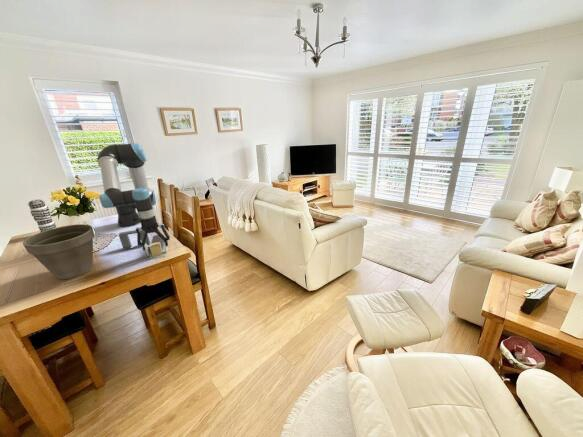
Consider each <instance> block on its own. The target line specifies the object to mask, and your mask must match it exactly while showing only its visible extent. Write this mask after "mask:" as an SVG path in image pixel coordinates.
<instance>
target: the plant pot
mask: <svg viewBox="0 0 583 437" xmlns="http://www.w3.org/2000/svg"><path fill="white" fill-rule="evenodd" d="M94 237H95V232H94V228H93V226H92V225H90V224H83V223H82V224H70V225H64V226H59V227H56V228H54V229H50V230H47V231H44V232H41V231H40V232H38V233H35V234H33V235H31V236H29V237H27V238H25V239H24V241H23V242H22V245H23V247H24V248H25V250H26V252H27V253H28V255H29V254H30V255H32V256H33V257H35V259H36V260H37V261H38V262H40V264H42V266H44V268H46V270H48V271H49V273H50V274H52V275H53V276H54V277H55V278H57V280H58V279H59V280H69V279H70V280H71V279H72V278H73V279H74V278H76V277H79V276H82V275H84V274H86V273H88V272H89V271H91V269H92V268H93V265H94Z"/></svg>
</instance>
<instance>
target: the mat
mask: <svg viewBox="0 0 583 437" xmlns="http://www.w3.org/2000/svg"><path fill="white" fill-rule="evenodd" d="M149 253H150V254H149V256H148V261H150V260H155V259H159V258H164V257H165V256H166V252H165V248H164V245H163V250H162V255H159V256H154V257H153V256H152V253H151V252H149Z"/></svg>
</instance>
